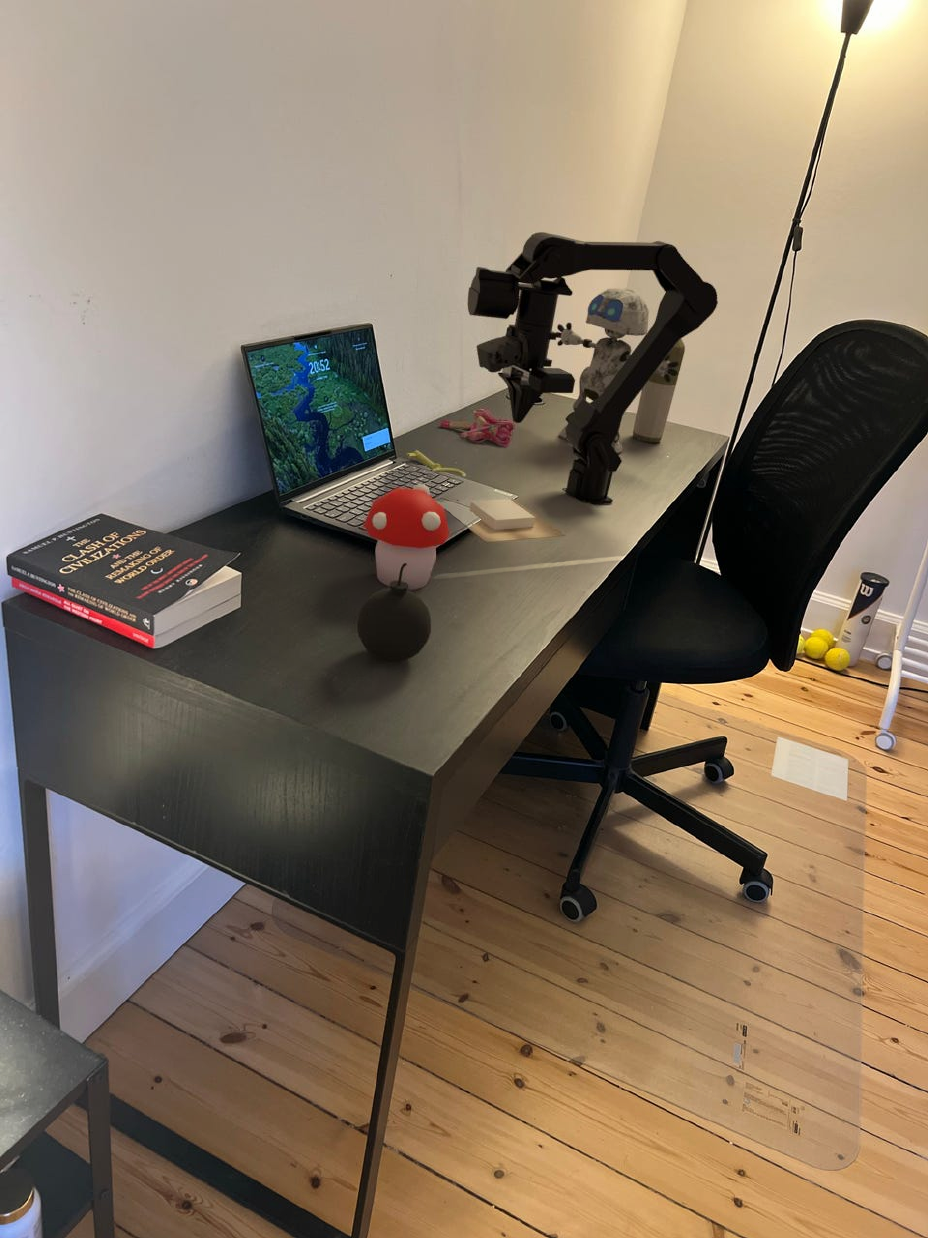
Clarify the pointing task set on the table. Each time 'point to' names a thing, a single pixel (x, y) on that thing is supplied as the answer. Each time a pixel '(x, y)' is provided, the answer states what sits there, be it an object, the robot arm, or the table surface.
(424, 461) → the key
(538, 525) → the mat
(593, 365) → the toy robot
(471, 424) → the toy
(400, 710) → the table surface
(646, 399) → the bottle
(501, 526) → the tile
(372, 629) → the bomb
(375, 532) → the mushroom
